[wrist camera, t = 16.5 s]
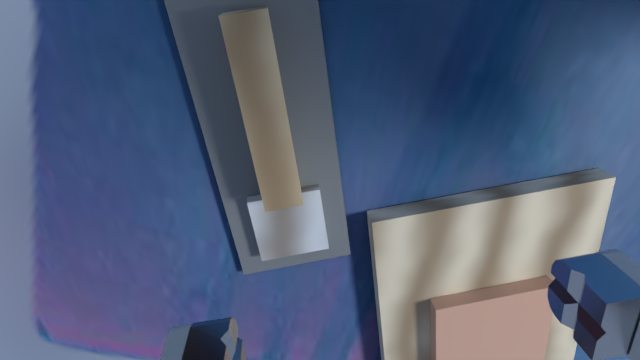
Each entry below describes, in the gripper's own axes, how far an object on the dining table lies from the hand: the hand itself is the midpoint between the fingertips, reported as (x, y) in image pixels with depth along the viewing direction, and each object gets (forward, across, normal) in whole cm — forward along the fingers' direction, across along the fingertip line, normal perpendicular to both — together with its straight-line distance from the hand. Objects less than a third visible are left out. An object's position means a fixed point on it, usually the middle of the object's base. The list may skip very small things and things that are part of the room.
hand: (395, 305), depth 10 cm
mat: (+22, +4, +2) cm, 23 cm away
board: (+23, -14, +24) cm, 36 cm away
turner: (+22, +4, +4) cm, 22 cm away
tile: (+20, -14, +22) cm, 33 cm away
